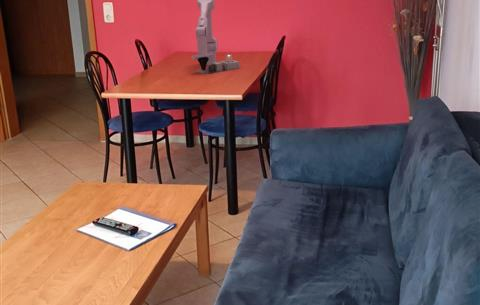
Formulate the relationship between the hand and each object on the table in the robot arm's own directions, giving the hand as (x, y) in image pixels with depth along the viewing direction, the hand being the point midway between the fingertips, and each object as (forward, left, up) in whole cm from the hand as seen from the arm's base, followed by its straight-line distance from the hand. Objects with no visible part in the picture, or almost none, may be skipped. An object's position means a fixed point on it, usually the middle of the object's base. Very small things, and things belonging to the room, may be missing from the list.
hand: (203, 70), depth 343 cm
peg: (0, +19, -1) cm, 19 cm away
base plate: (-2, +11, -2) cm, 11 cm away
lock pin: (0, +10, -1) cm, 10 cm away
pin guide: (0, +10, -2) cm, 10 cm away
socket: (0, +19, -2) cm, 19 cm away
